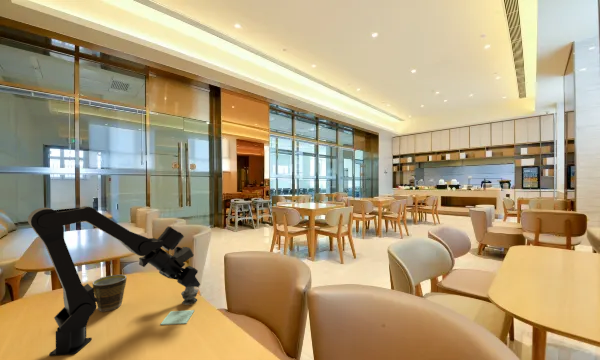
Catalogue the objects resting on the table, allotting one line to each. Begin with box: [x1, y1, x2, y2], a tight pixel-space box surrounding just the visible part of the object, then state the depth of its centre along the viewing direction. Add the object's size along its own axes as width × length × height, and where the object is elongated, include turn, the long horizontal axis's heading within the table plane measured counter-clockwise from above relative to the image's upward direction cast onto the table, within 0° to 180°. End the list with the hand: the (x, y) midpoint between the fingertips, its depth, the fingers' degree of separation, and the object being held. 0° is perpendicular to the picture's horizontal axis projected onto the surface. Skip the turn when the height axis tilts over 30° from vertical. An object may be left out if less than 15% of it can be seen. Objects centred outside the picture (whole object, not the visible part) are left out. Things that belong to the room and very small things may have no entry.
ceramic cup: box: [92, 274, 127, 312], centre depth 92 cm, size 13×10×10 cm
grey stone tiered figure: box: [180, 286, 199, 306], centre depth 97 cm, size 6×6×12 cm
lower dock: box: [160, 309, 195, 326], centre depth 85 cm, size 8×8×1 cm
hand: (193, 282), depth 98 cm, fingers open, 8 cm apart
